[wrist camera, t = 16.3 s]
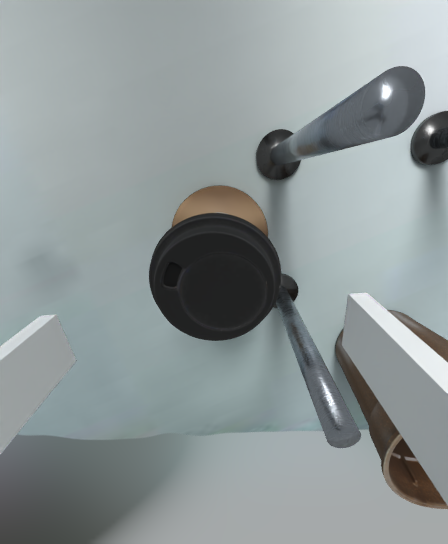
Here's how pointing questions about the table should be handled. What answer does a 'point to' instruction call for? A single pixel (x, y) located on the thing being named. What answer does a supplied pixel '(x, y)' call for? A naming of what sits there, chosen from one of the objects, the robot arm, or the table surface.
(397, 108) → the pole corner
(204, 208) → the coaster
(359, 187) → the table surface
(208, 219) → the coffee cup
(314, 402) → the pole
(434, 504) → the plant pot
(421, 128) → the pole outer
